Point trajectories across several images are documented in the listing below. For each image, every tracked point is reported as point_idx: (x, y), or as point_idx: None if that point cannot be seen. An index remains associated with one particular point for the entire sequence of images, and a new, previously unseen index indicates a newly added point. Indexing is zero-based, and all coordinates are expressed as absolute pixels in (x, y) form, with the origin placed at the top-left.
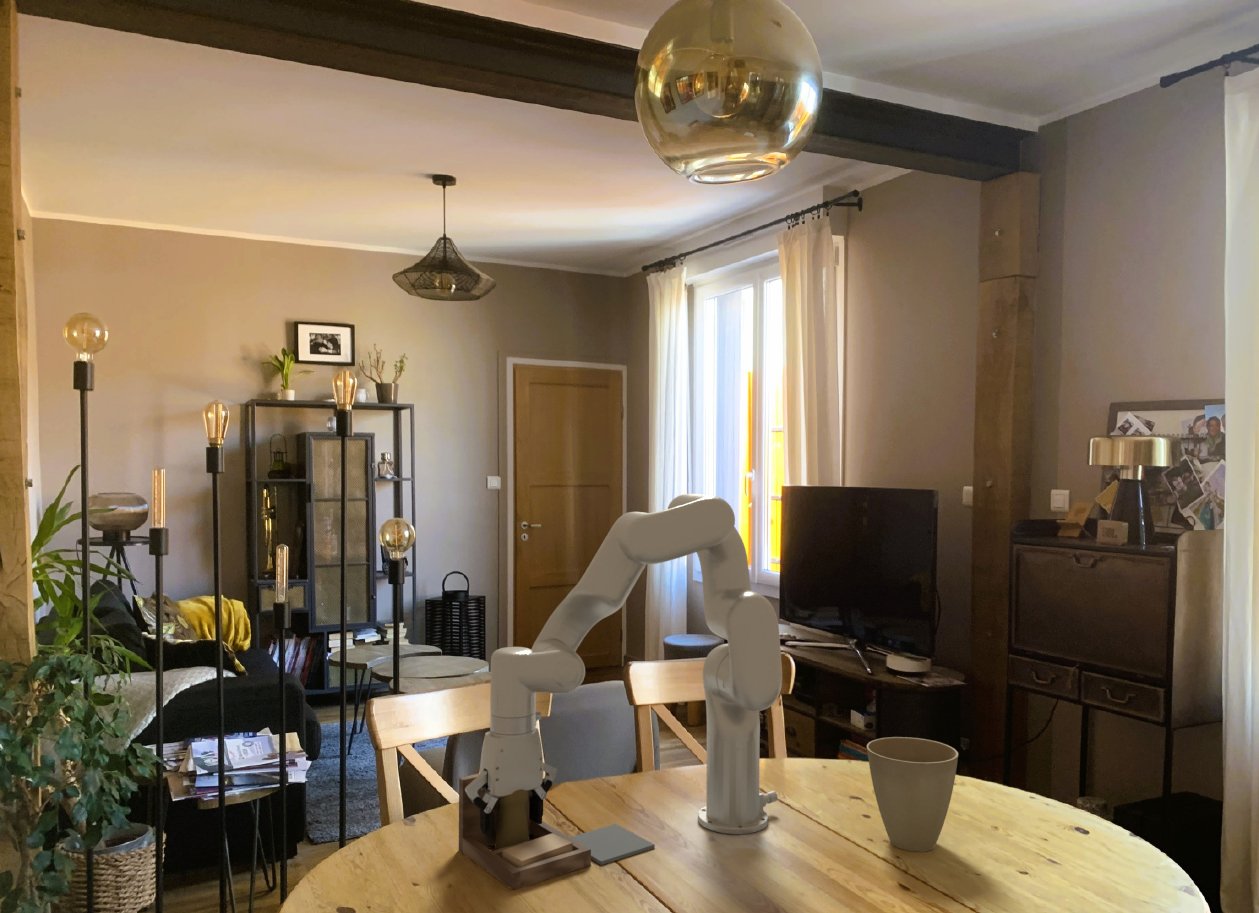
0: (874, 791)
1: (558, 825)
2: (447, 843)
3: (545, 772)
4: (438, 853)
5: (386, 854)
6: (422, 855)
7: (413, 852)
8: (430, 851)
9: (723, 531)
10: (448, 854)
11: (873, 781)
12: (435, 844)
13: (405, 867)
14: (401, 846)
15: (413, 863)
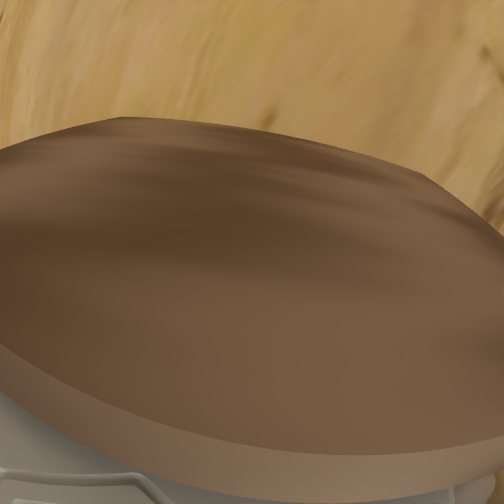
0: (496, 489)
1: (484, 216)
2: (128, 43)
3: (455, 487)
4: (77, 97)
5: (15, 41)
6: (50, 87)
7: (46, 57)
8: (70, 72)
9: None
10: (91, 121)
11: (491, 501)
12: (102, 32)
13: (12, 130)
14: (49, 9)
15: (25, 120)
